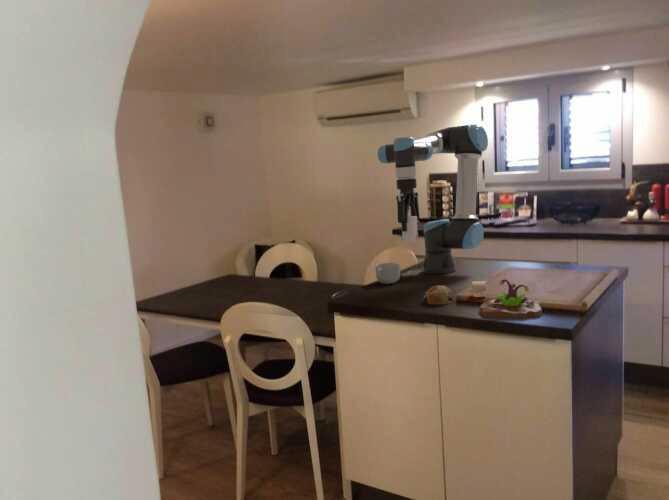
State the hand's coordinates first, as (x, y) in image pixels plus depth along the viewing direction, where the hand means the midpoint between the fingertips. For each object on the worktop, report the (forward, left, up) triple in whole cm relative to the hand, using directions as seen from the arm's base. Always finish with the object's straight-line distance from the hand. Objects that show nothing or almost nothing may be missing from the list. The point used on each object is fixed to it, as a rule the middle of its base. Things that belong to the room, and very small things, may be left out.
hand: (410, 238), depth 233 cm
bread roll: (+10, +15, -22) cm, 29 cm away
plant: (+15, +43, -22) cm, 51 cm away
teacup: (-14, -20, -22) cm, 33 cm away
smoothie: (0, 0, -2) cm, 2 cm away
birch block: (-2, +26, -22) cm, 34 cm away
